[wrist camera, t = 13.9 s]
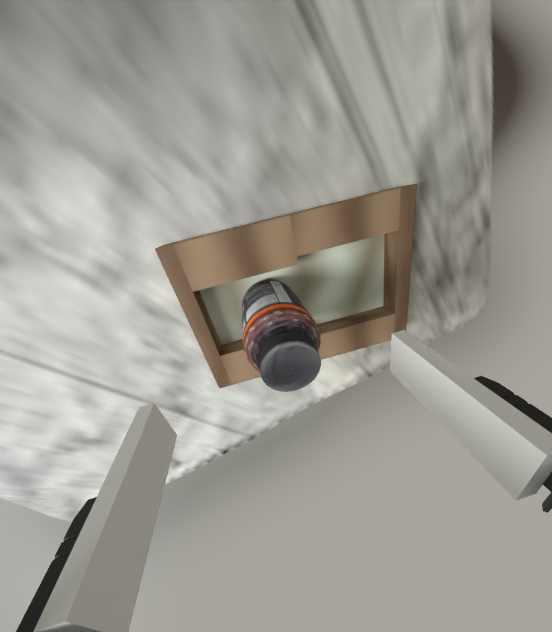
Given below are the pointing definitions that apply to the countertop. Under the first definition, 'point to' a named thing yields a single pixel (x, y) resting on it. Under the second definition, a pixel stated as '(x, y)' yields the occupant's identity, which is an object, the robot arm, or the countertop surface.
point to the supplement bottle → (280, 336)
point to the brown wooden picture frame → (301, 275)
